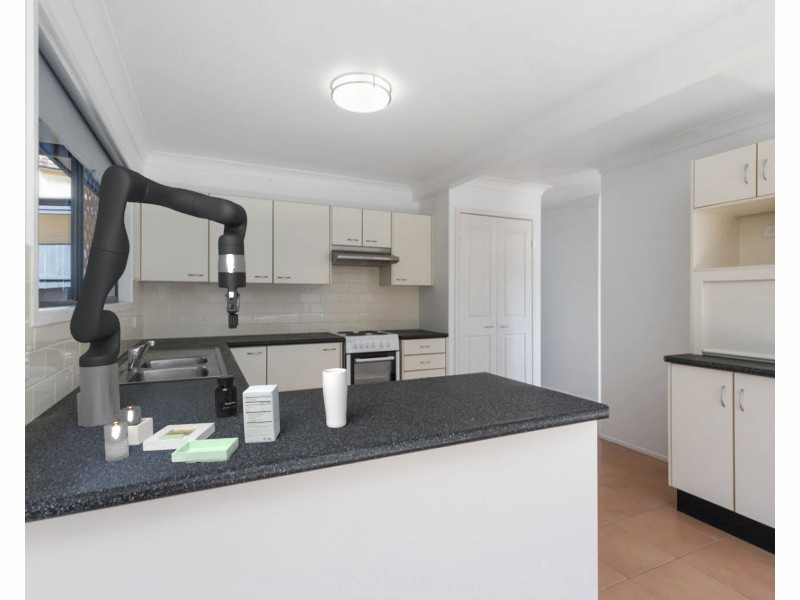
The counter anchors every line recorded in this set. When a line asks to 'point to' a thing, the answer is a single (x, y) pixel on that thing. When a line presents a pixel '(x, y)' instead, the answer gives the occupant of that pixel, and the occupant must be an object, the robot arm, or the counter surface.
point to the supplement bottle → (226, 397)
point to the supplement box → (261, 413)
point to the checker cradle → (177, 436)
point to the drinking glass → (335, 396)
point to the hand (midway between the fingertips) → (233, 327)
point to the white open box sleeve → (140, 431)
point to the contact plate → (182, 432)
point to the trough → (205, 450)
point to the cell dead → (131, 415)
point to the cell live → (116, 440)
